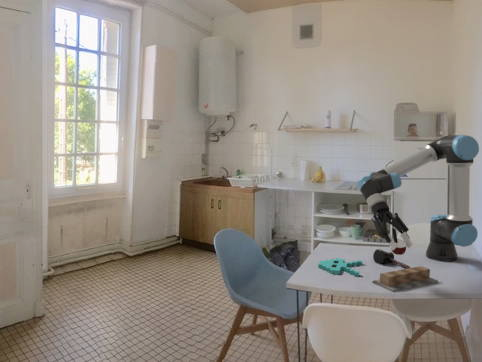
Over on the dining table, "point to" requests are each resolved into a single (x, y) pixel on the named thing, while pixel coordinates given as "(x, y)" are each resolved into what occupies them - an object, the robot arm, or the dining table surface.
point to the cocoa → (398, 244)
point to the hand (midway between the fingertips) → (402, 247)
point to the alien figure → (339, 266)
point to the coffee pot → (386, 258)
